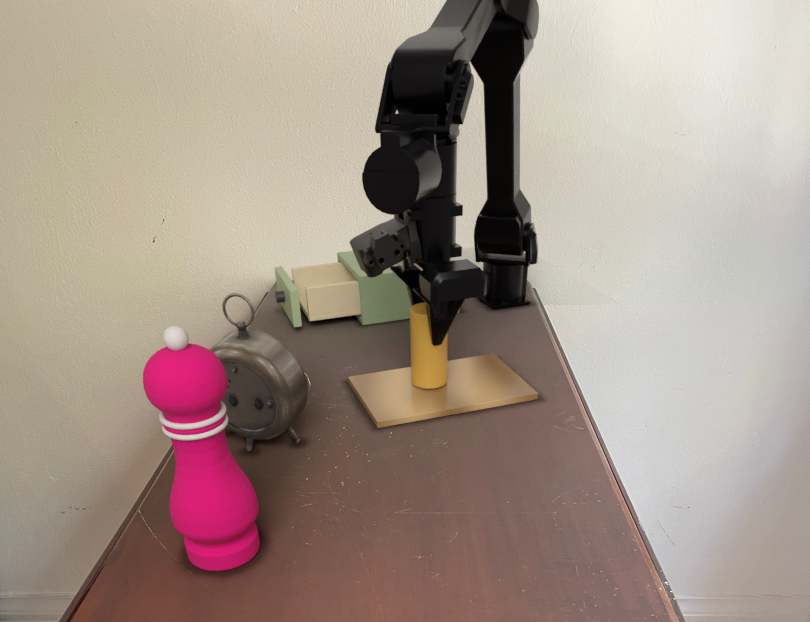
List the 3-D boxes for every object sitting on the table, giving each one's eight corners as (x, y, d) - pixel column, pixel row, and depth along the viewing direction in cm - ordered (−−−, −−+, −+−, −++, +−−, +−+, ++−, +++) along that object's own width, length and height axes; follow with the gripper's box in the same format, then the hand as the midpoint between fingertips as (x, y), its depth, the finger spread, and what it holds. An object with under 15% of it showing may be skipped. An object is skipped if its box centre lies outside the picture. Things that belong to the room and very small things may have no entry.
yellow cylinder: (449, 369, 88) (451, 298, 83) (463, 383, 85) (465, 310, 79) (406, 377, 87) (404, 304, 81) (418, 391, 83) (417, 317, 78)
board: (493, 358, 93) (493, 353, 92) (538, 399, 83) (538, 393, 83) (348, 382, 88) (347, 376, 88) (377, 428, 78) (377, 421, 78)
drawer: (286, 328, 101) (281, 291, 98) (271, 302, 111) (266, 267, 108) (388, 314, 105) (387, 278, 102) (366, 289, 114) (364, 256, 111)
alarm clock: (315, 438, 77) (298, 289, 67) (294, 462, 73) (272, 307, 63) (229, 424, 80) (200, 280, 70) (203, 447, 76) (169, 297, 66)
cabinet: (362, 325, 104) (359, 276, 100) (340, 297, 114) (336, 252, 110) (459, 311, 108) (461, 264, 104) (429, 285, 118) (429, 241, 114)
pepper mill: (247, 580, 58) (198, 348, 46) (167, 570, 59) (99, 342, 47) (277, 529, 63) (240, 311, 51) (203, 521, 65) (150, 306, 53)
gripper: (332, 183, 78) (343, 320, 87) (381, 220, 64) (388, 379, 73) (426, 174, 81) (427, 309, 90) (492, 208, 66) (485, 363, 76)
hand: (429, 337), depth 82 cm, fingers closed on yellow cylinder, 4 cm apart
